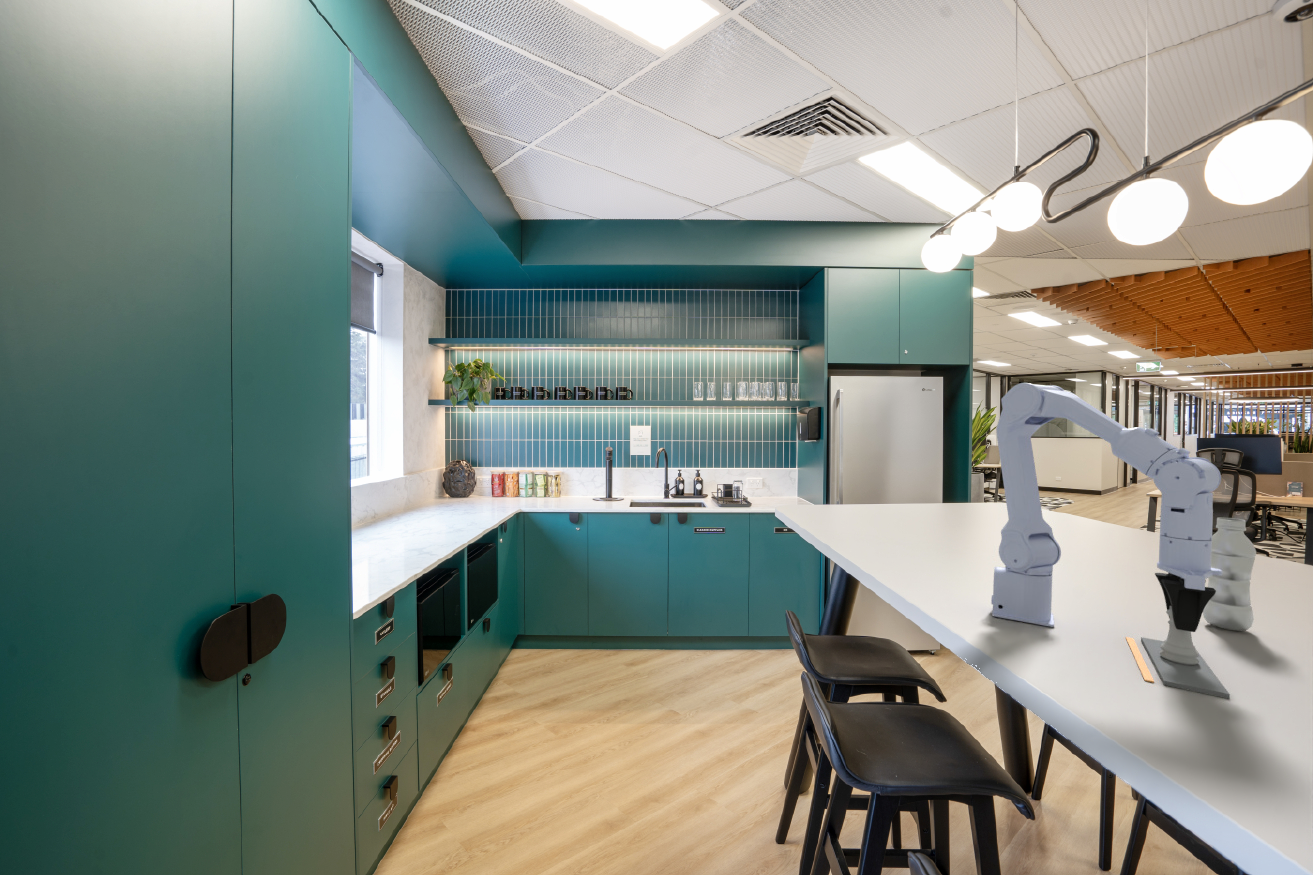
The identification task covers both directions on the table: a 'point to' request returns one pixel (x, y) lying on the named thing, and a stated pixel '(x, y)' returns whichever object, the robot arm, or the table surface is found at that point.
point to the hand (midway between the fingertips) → (1182, 625)
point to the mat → (1184, 672)
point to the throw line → (1139, 660)
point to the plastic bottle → (1231, 577)
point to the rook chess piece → (1178, 645)
